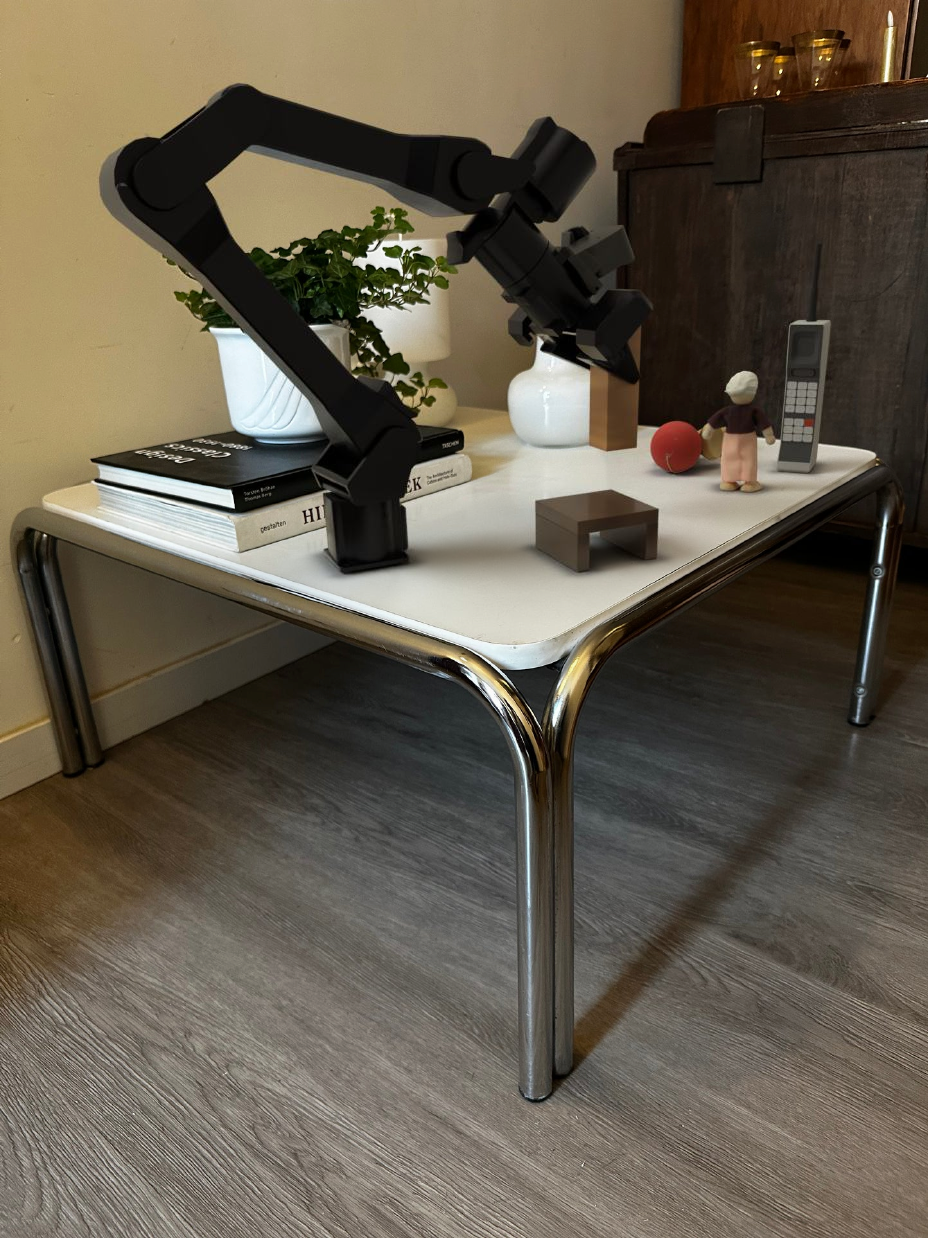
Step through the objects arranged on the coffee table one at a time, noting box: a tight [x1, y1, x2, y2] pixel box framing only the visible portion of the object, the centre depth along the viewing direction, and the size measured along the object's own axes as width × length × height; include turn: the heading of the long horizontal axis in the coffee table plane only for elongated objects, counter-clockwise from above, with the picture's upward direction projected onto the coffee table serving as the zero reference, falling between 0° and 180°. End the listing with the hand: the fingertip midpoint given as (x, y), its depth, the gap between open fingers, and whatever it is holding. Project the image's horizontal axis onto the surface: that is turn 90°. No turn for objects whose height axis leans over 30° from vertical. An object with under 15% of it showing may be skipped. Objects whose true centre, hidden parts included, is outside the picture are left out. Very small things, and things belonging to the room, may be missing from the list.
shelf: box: [534, 488, 660, 573], centre depth 83 cm, size 8×8×4 cm
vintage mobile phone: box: [776, 242, 832, 474], centre depth 106 cm, size 4×5×25 cm
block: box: [588, 324, 642, 452], centre depth 91 cm, size 4×4×12 cm
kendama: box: [649, 420, 726, 474], centre depth 115 cm, size 8×6×18 cm
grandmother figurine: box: [702, 370, 777, 493], centre depth 101 cm, size 8×4×13 cm, turn 74°
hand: (626, 378), depth 91 cm, fingers closed on block, 3 cm apart
